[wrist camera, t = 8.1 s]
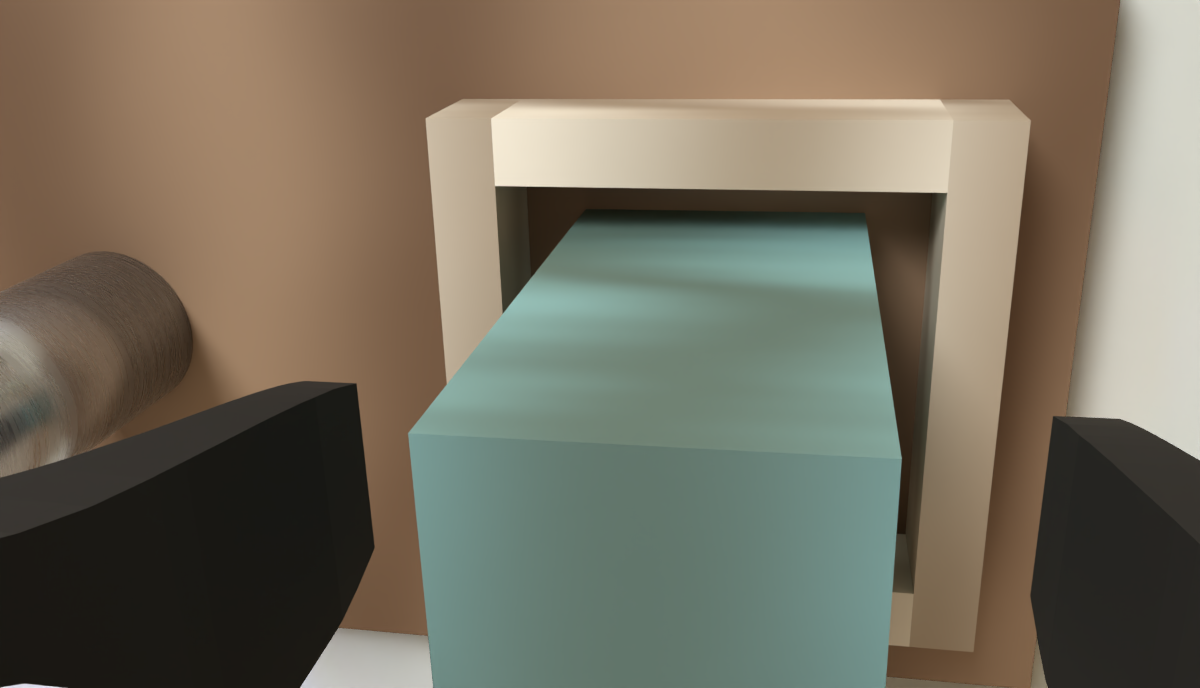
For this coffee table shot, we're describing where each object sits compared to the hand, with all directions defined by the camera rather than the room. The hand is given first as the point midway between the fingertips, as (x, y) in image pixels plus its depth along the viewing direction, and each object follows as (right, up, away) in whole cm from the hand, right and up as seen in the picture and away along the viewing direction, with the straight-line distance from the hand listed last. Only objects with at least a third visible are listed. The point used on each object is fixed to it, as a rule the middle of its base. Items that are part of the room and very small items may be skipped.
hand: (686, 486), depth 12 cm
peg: (+1, +2, +4) cm, 4 cm away
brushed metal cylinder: (-8, +2, +5) cm, 10 cm away
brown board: (-3, +2, +5) cm, 7 cm away
